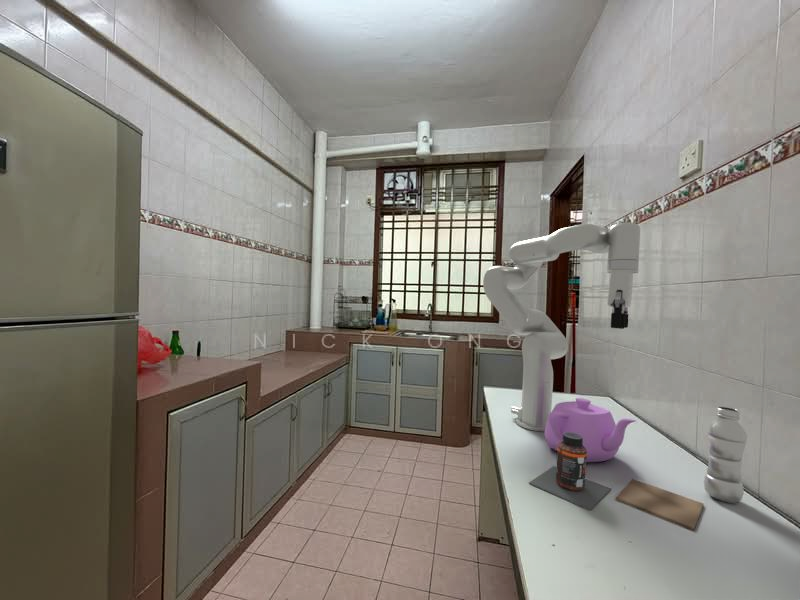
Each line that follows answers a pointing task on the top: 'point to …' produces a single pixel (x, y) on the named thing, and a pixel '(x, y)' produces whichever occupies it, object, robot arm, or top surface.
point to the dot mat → (581, 498)
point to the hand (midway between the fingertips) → (619, 327)
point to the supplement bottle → (571, 462)
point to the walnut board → (661, 503)
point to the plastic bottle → (725, 456)
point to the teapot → (586, 428)
